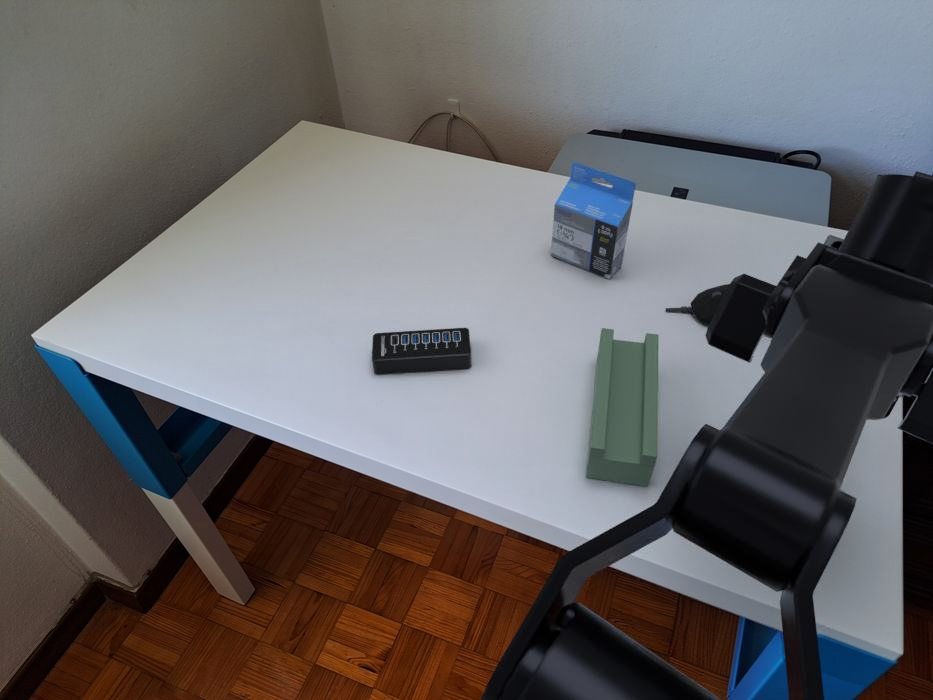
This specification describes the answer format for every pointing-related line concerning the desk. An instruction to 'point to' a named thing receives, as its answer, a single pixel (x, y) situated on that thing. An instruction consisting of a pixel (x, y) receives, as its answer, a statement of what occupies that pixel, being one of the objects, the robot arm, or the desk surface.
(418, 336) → the multiport hub
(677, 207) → the desk surface
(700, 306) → the gaming mouse
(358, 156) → the desk surface
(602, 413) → the high rail
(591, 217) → the blue product box
